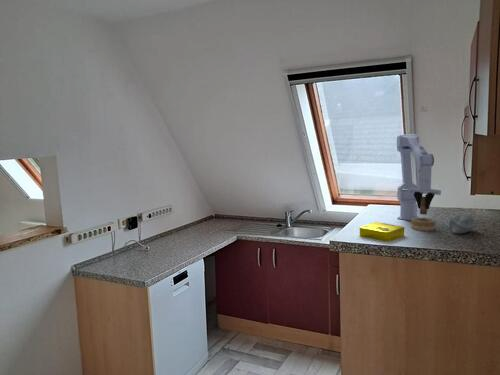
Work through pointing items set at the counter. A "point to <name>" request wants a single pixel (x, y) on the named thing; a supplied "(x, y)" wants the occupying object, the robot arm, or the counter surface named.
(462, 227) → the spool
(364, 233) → the element tile
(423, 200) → the peg
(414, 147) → the robot arm
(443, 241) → the counter surface
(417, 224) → the bead
